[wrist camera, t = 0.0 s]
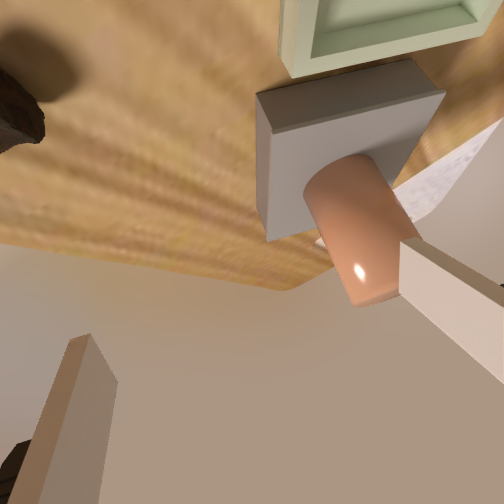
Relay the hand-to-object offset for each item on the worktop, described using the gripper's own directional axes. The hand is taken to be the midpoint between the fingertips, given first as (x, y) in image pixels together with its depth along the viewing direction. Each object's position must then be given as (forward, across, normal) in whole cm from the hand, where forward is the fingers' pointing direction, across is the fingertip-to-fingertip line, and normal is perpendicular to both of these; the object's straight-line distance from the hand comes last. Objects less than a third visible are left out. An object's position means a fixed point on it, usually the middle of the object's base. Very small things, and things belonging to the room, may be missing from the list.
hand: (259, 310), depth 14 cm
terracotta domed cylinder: (+14, +11, -1) cm, 18 cm away
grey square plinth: (+18, +11, +2) cm, 21 cm away
